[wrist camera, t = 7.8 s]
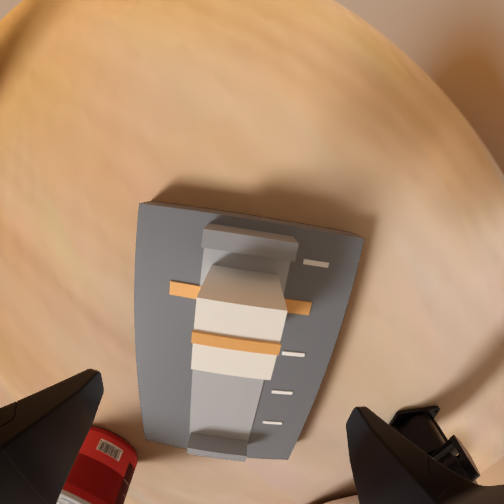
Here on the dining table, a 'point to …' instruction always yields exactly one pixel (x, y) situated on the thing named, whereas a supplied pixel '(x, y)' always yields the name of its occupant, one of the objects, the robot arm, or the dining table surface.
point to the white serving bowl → (345, 500)
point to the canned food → (100, 470)
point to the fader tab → (238, 323)
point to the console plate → (183, 315)
